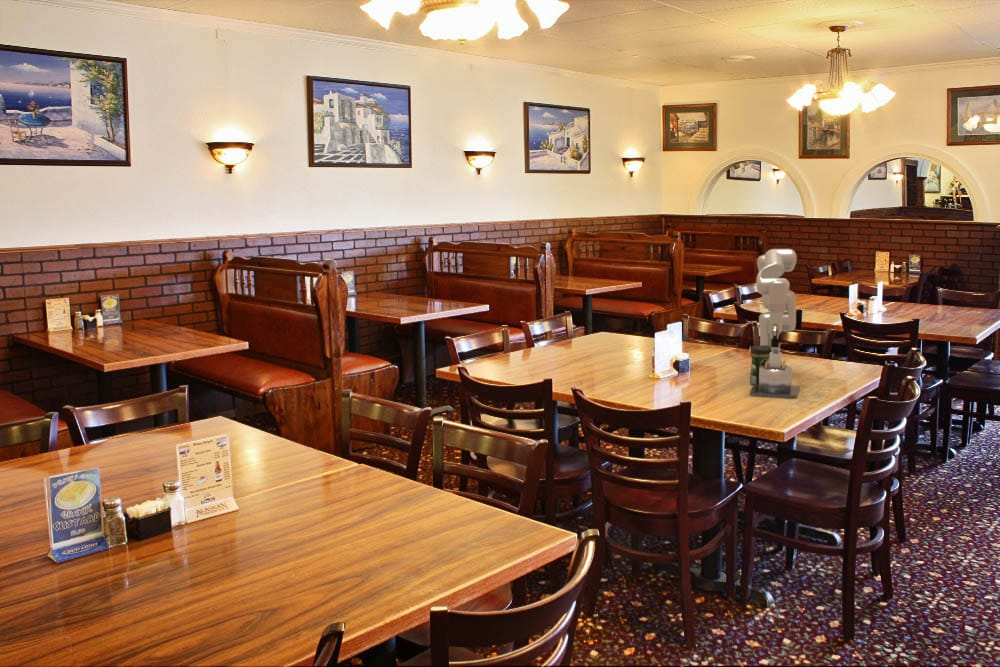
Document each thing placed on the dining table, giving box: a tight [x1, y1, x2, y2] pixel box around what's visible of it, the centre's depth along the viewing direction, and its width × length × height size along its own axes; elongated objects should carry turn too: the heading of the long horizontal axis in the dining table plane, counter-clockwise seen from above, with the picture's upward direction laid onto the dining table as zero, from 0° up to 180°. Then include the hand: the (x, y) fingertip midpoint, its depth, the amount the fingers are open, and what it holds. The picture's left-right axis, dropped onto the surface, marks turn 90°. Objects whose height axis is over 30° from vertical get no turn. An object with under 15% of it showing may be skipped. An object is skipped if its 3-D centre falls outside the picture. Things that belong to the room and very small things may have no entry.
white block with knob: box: [769, 349, 783, 367], centre depth 399 cm, size 5×5×8 cm
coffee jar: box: [749, 345, 772, 386], centre depth 418 cm, size 10×8×19 cm
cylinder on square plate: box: [749, 360, 800, 400], centre depth 400 cm, size 20×20×14 cm
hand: (775, 345), depth 398 cm, fingers open, 9 cm apart
